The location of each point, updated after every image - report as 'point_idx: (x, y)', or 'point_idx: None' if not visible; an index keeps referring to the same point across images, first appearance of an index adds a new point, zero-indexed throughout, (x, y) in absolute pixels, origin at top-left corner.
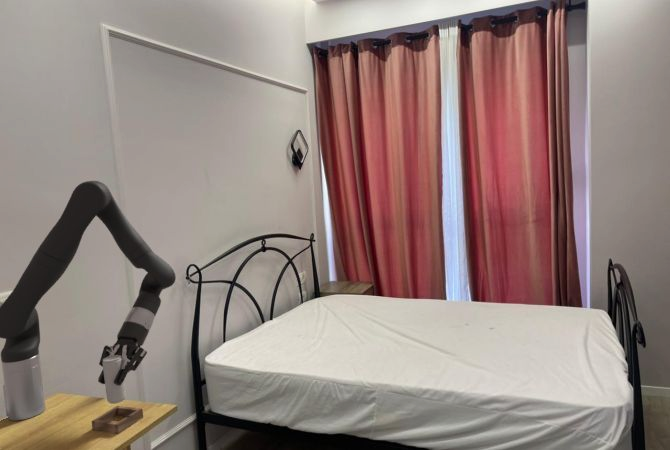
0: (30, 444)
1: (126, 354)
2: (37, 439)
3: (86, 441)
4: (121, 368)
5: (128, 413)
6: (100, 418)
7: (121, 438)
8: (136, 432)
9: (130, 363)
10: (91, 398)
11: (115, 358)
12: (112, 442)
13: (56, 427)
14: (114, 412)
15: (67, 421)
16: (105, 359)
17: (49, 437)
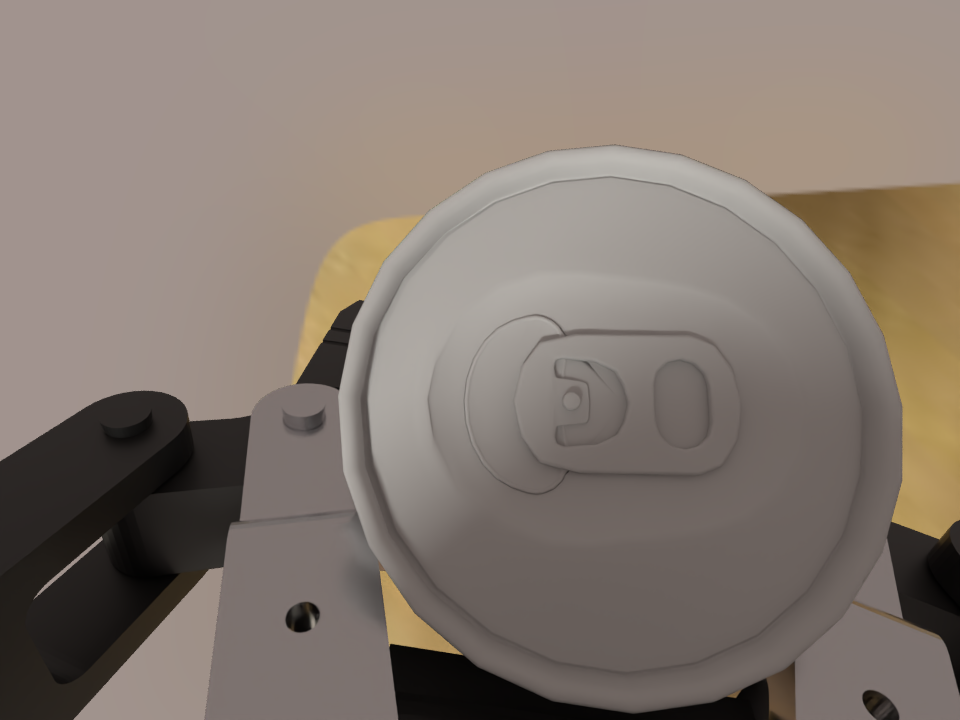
0: (892, 187)
1: (213, 710)
2: (903, 238)
3: None
4: (335, 393)
5: None
6: None
7: (357, 282)
8: (299, 355)
9: (83, 449)
10: None
11: (496, 416)
12: (386, 238)
13: (917, 379)
14: None
15: (913, 462)
16: (780, 312)
17: (846, 263)
